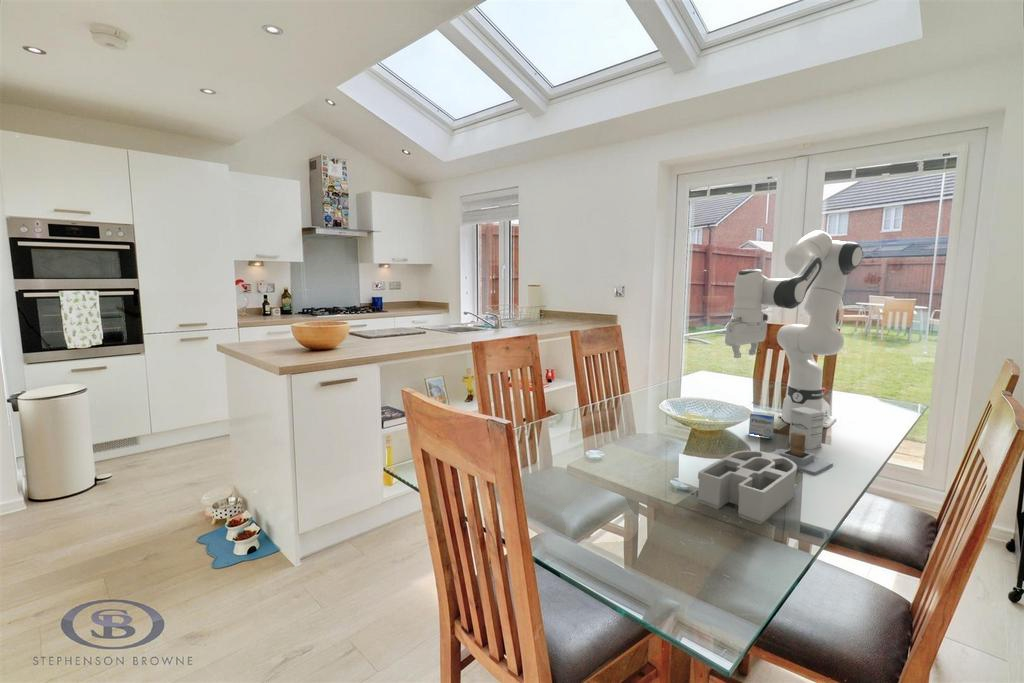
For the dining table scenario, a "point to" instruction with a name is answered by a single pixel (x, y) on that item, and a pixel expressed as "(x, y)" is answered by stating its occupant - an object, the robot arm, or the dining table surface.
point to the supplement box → (807, 425)
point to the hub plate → (805, 462)
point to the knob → (797, 444)
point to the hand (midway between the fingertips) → (744, 356)
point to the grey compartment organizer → (749, 483)
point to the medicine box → (761, 424)
